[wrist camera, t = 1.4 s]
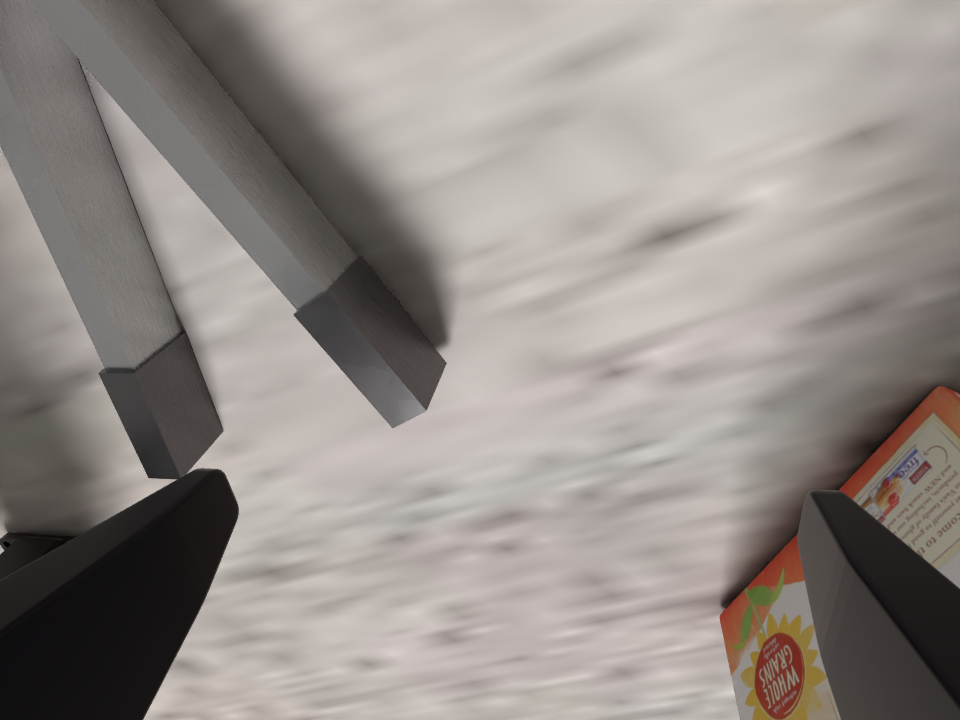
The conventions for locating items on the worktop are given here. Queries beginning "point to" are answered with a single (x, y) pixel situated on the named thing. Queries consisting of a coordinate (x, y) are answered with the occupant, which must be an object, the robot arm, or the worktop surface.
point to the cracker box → (781, 585)
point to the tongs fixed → (99, 245)
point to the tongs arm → (252, 197)
